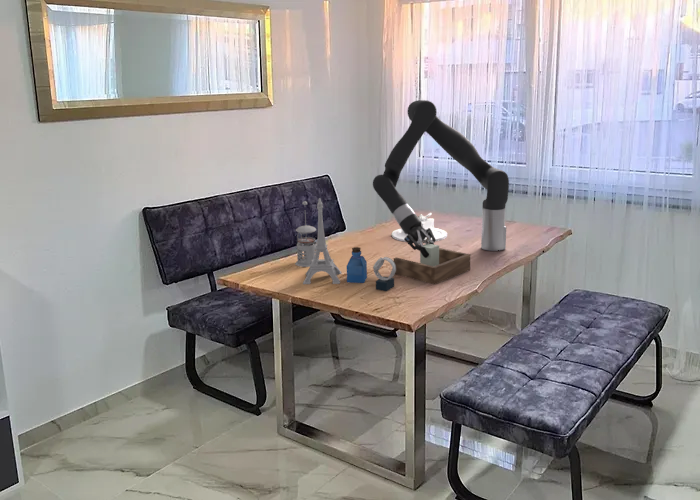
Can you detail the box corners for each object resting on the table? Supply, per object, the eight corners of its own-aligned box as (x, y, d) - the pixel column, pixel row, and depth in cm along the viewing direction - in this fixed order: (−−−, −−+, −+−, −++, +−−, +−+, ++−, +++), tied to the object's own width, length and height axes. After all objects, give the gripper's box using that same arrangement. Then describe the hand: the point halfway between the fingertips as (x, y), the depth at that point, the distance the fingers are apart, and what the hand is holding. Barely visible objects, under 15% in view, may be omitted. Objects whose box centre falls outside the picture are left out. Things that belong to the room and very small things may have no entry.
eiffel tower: (306, 273, 256) (302, 195, 247) (341, 272, 255) (339, 194, 247) (302, 284, 243) (299, 202, 235) (339, 284, 242) (337, 202, 234)
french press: (301, 268, 261) (298, 205, 254) (289, 260, 271) (286, 199, 264) (323, 264, 266) (321, 202, 259) (311, 257, 275) (309, 197, 269)
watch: (378, 283, 241) (378, 254, 238) (398, 287, 237) (398, 257, 234) (370, 288, 236) (370, 258, 233) (391, 292, 232) (391, 261, 229)
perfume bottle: (363, 283, 242) (363, 251, 239) (347, 282, 244) (346, 250, 240) (366, 277, 248) (366, 246, 245) (350, 277, 249) (349, 245, 246)
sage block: (438, 266, 253) (439, 245, 251) (430, 269, 250) (431, 248, 247) (428, 263, 257) (428, 243, 254) (420, 266, 253) (420, 246, 251)
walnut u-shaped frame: (470, 269, 254) (470, 254, 252) (434, 284, 239) (434, 268, 237) (429, 260, 267) (429, 245, 265) (393, 273, 252) (393, 258, 250)
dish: (455, 233, 308) (456, 208, 305) (432, 246, 288) (432, 220, 285) (408, 227, 321) (408, 203, 318) (381, 239, 301) (381, 214, 298)
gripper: (400, 216, 248) (426, 253, 244) (424, 209, 258) (449, 245, 254) (389, 228, 253) (414, 264, 249) (413, 221, 263) (437, 256, 259)
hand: (432, 254), depth 251 cm, fingers closed on sage block, 5 cm apart
